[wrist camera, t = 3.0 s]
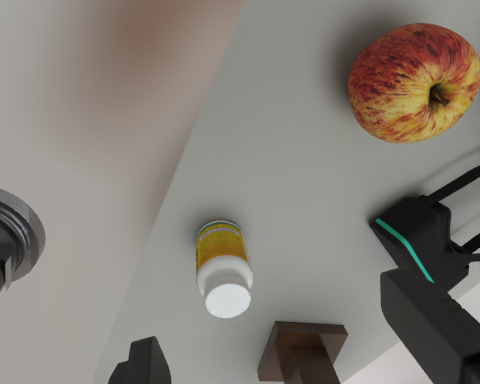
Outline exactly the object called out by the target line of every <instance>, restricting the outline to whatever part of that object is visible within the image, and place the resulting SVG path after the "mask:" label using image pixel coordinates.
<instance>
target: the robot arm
mask: <svg viewBox="0 0 480 384" xmlns="http://www.w3.org/2000/svg"><path fill="white" fill-rule="evenodd" d="M25 255H26V241H25V238H24V236H23V234H22V232H21V231H20V229H19V228H18V227H17V225H16V224H15V223H14V222H12V221H11V220H10V219H9V218H8V217H6V216H5V215H3V214H1V213H0V292H1V291H2V290H3V288H4V287H5V285H6V290H7V289H8V288H9V286H10V285H11V276H12V275H13V274H14V273H15V271H16V270H17V269H18V268H19V266H20V265H21V263H22V262H23V260H24V258H25ZM380 287H381V308H382V312H383V314H384V317H385V319H386V320H387V322H388V324H389V325H390V326H391V328H392V329H393V330H394V332H395V333H396V334H397V336H398V337H399V338H400V340H401V341H402V342H403V344H404V345H405V346H406V348H407V349H408V350H409V352H410V353H411V354H412V355H413V357H414V358H415V359H416V361H417V362H418V363H419V365H420V366H421V368H422V369H423V370H424V372H425V373H426V374H427V375H428V377H429V378H430V380H431V381H432V382H433V384H480V323H479V322H478V321H477V320H476V319H475V318H473V317H472V316H471V315H470V314H469V313H468V312H467V311H466V310H465V309H462V307H461V305H460V304H459V303H457V302H456V301H455V300H454V299H452V298H451V296H450V295H449V294H448V293H447V292H446V291H445V290H444V289H442V288H441V287H440V286H439V285H437V284H435V283H433V282H431V281H429V280H427V279H425V278H419V279H416V278H415V277H414V276H413V275H412V274H411V273H410V272H409V271H408V270H407V269H406V268H404V267H400V268H397V269H393V270H389V271H386V272H382V273H381V275H380ZM108 384H171V375H170V370H169V367H168V364H167V362H166V359H165V357H164V355H163V352H162V350H161V348H160V345H159V343H158V340H157V338H156V337H155V336H152V337H148V338H145V339H141V340H138V341H134V342H132V343H131V346H130V352H129V359H128V361H125V362H122V363H118V365H117V366H116V368H115V370H114V372H113V373H112V375H111V377H110V379H109V382H108Z"/></svg>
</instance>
